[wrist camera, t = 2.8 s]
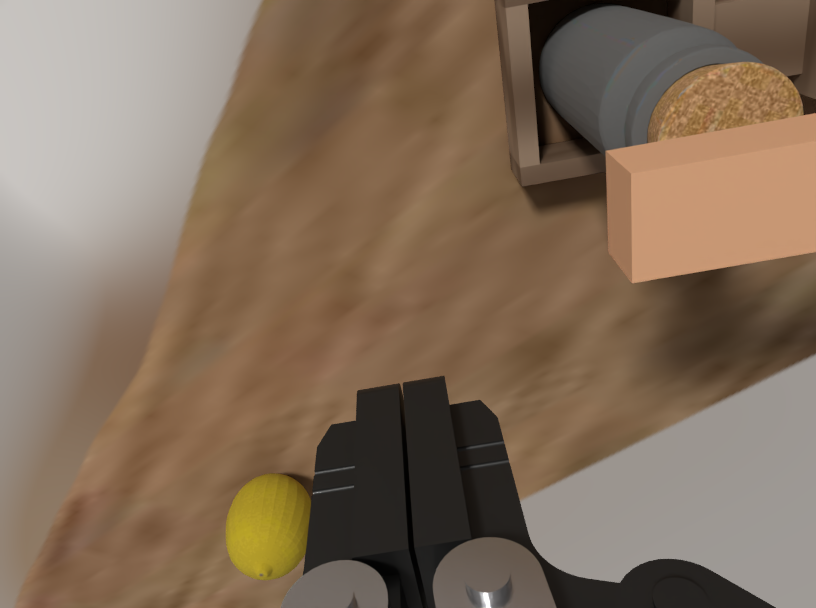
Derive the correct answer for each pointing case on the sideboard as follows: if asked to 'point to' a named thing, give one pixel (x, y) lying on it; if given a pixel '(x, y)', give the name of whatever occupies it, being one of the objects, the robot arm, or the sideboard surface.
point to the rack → (694, 3)
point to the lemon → (268, 526)
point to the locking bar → (713, 199)
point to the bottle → (655, 78)
